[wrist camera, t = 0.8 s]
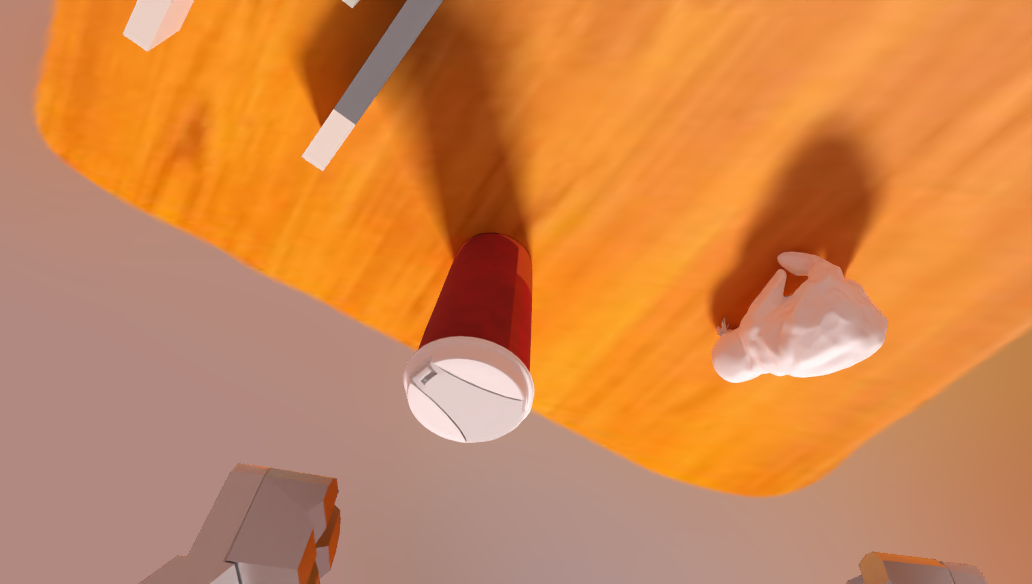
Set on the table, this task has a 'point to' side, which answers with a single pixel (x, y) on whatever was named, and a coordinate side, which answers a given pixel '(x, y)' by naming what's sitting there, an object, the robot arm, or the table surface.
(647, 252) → the table surface
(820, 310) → the white irregular piece
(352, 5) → the beige block
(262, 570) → the robot arm
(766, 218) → the table surface
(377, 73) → the walled channel
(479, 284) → the paper cup
